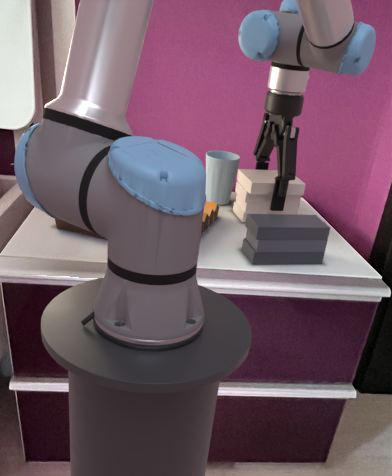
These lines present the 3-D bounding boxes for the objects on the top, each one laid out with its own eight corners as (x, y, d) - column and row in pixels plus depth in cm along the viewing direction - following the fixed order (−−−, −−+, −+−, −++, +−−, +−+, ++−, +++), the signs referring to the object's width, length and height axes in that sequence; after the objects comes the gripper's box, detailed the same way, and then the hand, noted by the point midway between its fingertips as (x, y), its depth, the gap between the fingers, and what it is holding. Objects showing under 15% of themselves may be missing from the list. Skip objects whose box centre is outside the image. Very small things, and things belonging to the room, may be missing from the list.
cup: (227, 195, 134) (233, 150, 129) (238, 206, 128) (245, 160, 123) (197, 195, 132) (201, 150, 126) (207, 206, 126) (212, 159, 120)
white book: (250, 194, 115) (252, 182, 114) (236, 179, 123) (238, 168, 122) (303, 195, 118) (306, 184, 117) (287, 181, 126) (289, 170, 125)
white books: (241, 222, 120) (246, 192, 116) (232, 210, 125) (236, 181, 122) (296, 223, 123) (302, 193, 119) (284, 211, 129) (290, 183, 125)
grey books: (251, 264, 102) (258, 226, 98) (240, 249, 107) (246, 213, 103) (322, 264, 106) (331, 227, 102) (308, 249, 111) (316, 214, 107)
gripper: (328, 105, 102) (303, 220, 114) (281, 83, 121) (264, 184, 133) (290, 102, 100) (269, 220, 112) (249, 80, 119) (234, 183, 131)
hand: (266, 200), depth 122 cm, fingers open, 11 cm apart
